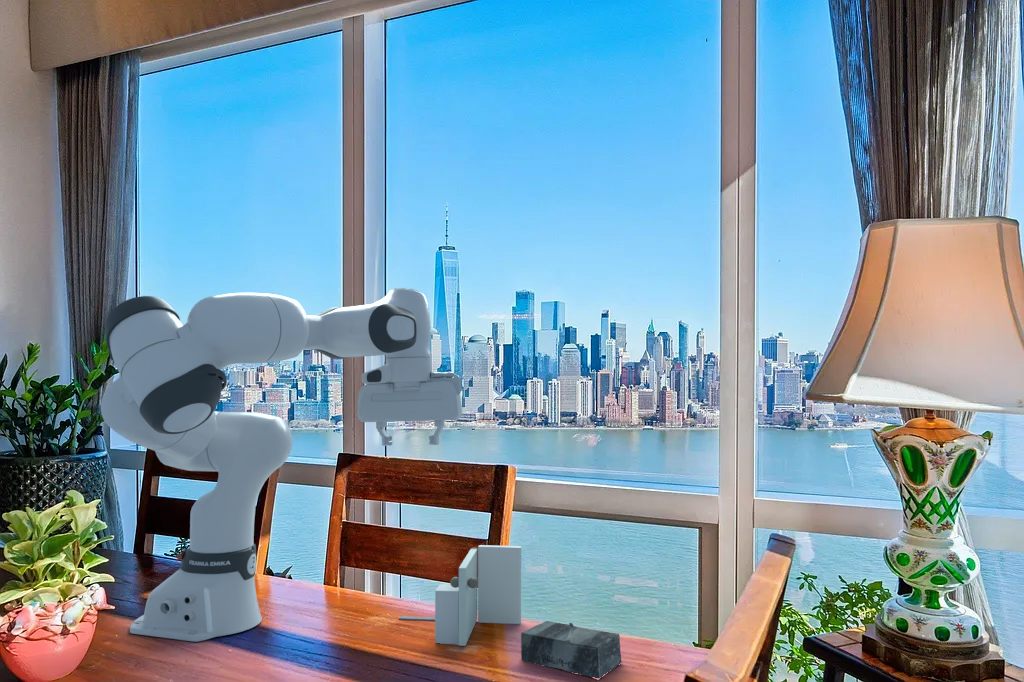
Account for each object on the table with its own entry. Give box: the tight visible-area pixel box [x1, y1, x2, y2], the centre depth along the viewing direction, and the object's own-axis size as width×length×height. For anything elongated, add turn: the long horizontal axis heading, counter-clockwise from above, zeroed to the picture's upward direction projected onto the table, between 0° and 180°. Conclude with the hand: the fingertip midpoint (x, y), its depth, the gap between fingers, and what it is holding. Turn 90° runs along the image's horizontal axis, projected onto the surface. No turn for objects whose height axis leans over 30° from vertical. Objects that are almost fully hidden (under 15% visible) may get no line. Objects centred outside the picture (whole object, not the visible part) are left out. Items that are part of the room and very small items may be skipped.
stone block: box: [520, 620, 622, 678], centre depth 125 cm, size 9×14×5 cm, turn 55°
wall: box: [398, 544, 522, 625], centre depth 145 cm, size 23×1×14 cm, turn 84°
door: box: [449, 547, 478, 647], centre depth 138 cm, size 15×5×13 cm, turn 174°
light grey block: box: [434, 583, 459, 645], centre depth 135 cm, size 4×4×9 cm
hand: (410, 445), depth 149 cm, fingers open, 8 cm apart
